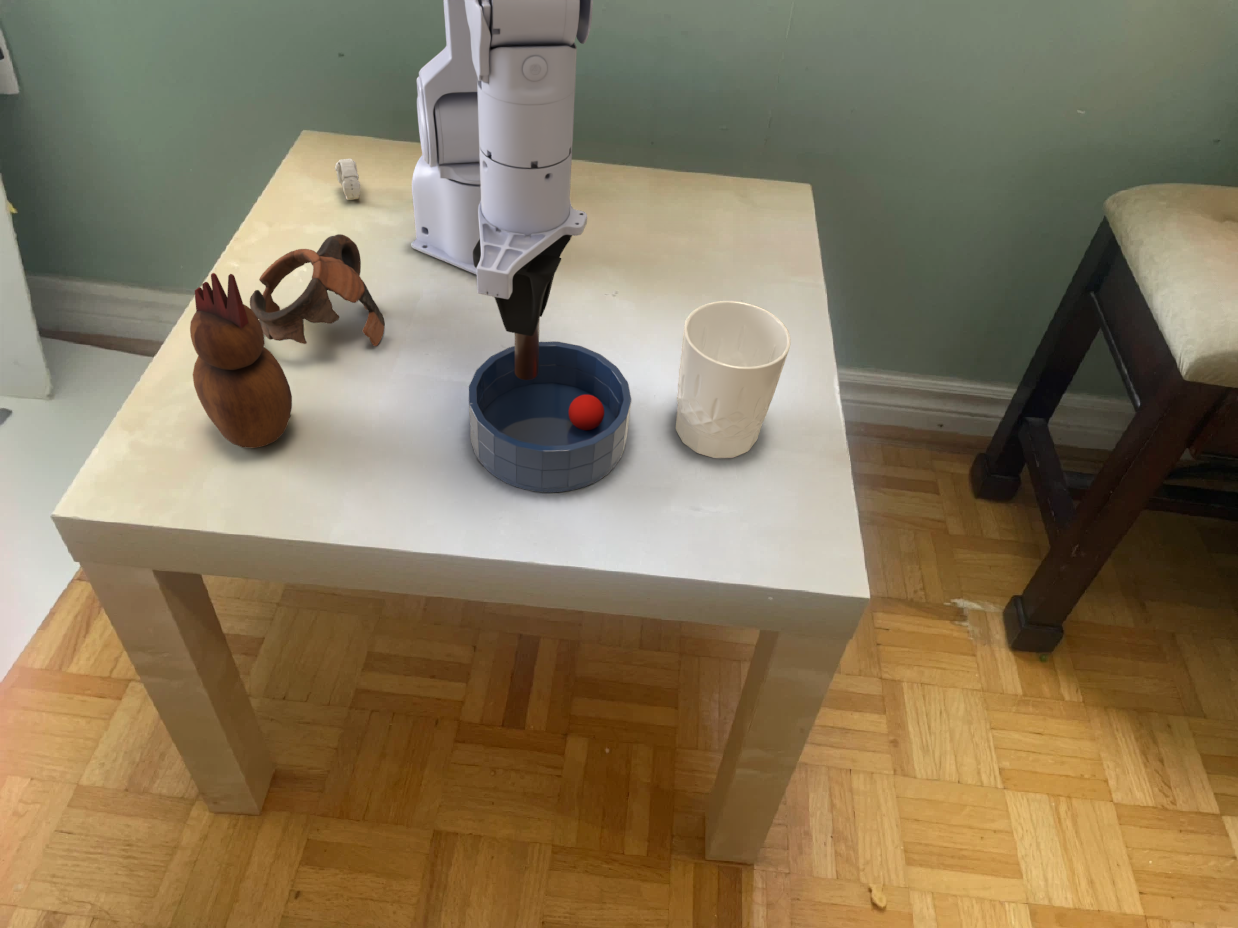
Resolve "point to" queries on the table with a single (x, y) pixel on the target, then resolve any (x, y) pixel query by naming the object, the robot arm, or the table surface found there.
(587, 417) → the red ball
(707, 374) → the white cup
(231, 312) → the wooden figurine
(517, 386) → the bowl
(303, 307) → the brown curved pieces
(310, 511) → the table surface
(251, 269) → the table surface
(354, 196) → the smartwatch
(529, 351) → the stick
